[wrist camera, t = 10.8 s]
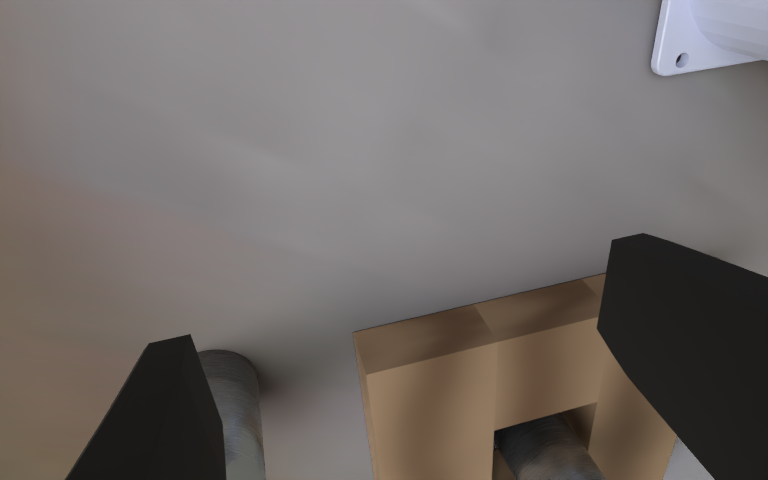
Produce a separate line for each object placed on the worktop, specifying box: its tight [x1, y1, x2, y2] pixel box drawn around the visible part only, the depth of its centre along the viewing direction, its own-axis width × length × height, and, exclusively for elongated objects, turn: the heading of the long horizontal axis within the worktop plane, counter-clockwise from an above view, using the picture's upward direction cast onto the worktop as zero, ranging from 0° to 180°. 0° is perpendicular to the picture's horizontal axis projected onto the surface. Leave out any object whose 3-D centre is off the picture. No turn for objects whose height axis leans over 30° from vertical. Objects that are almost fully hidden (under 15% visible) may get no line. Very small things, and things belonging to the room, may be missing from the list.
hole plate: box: [353, 273, 677, 480], centre depth 27 cm, size 16×16×2 cm
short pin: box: [197, 350, 266, 480], centre depth 20 cm, size 4×4×5 cm
